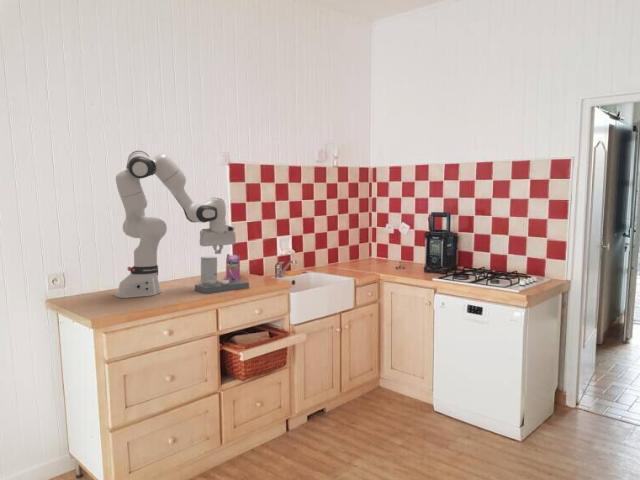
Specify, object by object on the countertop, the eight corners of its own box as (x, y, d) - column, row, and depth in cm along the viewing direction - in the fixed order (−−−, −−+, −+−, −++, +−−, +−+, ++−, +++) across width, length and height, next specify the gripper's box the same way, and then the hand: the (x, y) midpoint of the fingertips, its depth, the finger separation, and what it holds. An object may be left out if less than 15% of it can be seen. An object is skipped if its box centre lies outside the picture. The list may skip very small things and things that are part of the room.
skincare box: (203, 283, 281) (203, 257, 280) (200, 281, 286) (200, 256, 285) (217, 282, 285) (217, 256, 284) (214, 280, 290) (214, 255, 289)
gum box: (227, 275, 311) (227, 253, 309) (240, 275, 312) (239, 253, 311) (226, 281, 287) (225, 258, 286) (239, 281, 288) (239, 258, 287)
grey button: (209, 284, 253) (209, 281, 253) (205, 283, 257) (205, 280, 257) (217, 283, 256) (217, 280, 256) (213, 282, 260) (213, 279, 259)
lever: (232, 281, 271) (227, 265, 269) (230, 280, 273) (225, 265, 270) (236, 279, 273) (230, 263, 270) (234, 278, 275) (228, 263, 272)
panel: (205, 294, 251) (205, 288, 251) (194, 290, 260) (194, 284, 260) (248, 287, 268) (248, 282, 268) (237, 284, 277) (237, 279, 277)
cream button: (223, 284, 259) (223, 281, 259) (219, 283, 262) (219, 280, 262) (230, 284, 262) (230, 280, 261) (226, 282, 265) (226, 279, 265)
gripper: (202, 229, 255) (203, 255, 256) (237, 227, 268) (237, 252, 270) (197, 228, 260) (197, 254, 261) (231, 227, 273) (231, 251, 274)
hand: (218, 253), depth 266 cm, fingers closed
